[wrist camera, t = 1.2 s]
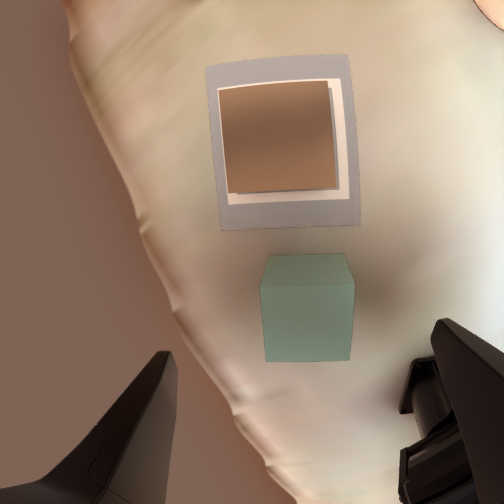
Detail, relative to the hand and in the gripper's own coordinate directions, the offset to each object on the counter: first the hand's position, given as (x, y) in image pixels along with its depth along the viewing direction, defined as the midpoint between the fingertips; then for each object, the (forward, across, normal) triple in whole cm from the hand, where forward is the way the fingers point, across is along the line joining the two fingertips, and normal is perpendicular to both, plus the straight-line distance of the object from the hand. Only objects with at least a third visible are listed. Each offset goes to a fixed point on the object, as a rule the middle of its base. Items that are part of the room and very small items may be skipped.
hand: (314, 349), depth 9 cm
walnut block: (+12, -1, -4) cm, 13 cm away
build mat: (+13, -1, -4) cm, 13 cm away
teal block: (+11, -2, +6) cm, 12 cm away
